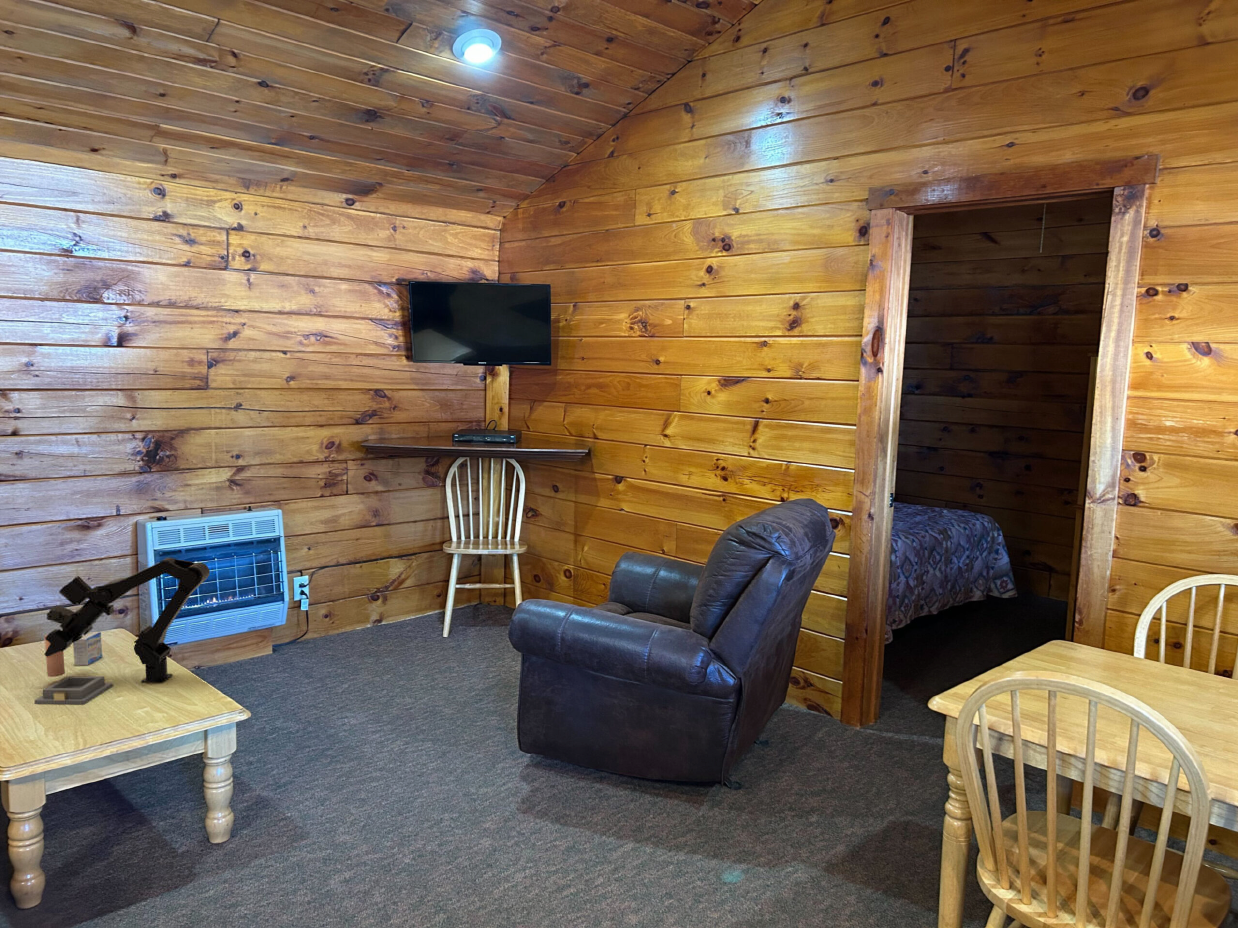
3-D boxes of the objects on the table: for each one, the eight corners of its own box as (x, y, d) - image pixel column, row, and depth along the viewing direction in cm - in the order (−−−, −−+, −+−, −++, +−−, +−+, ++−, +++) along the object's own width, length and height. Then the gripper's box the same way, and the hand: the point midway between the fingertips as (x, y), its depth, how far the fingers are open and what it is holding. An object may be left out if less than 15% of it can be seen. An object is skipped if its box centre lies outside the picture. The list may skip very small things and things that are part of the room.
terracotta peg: (53, 671, 267) (50, 632, 266) (68, 671, 267) (65, 632, 266) (44, 676, 263) (41, 637, 261) (58, 676, 263) (56, 637, 261)
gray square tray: (65, 685, 263) (65, 674, 263) (112, 685, 263) (112, 674, 263) (34, 703, 249) (33, 691, 249) (84, 704, 249) (83, 692, 249)
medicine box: (87, 665, 280) (86, 639, 279) (74, 665, 280) (72, 638, 279) (102, 657, 288) (101, 631, 287) (89, 657, 288) (87, 631, 287)
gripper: (78, 589, 272) (42, 625, 271) (50, 606, 254) (11, 645, 253) (108, 613, 274) (71, 649, 274) (82, 631, 256) (43, 670, 255)
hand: (49, 652), depth 264 cm, fingers closed on terracotta peg, 4 cm apart
